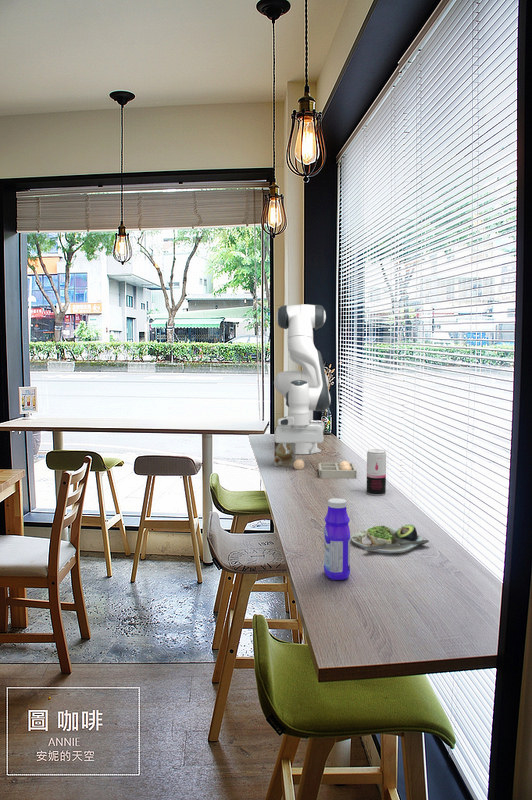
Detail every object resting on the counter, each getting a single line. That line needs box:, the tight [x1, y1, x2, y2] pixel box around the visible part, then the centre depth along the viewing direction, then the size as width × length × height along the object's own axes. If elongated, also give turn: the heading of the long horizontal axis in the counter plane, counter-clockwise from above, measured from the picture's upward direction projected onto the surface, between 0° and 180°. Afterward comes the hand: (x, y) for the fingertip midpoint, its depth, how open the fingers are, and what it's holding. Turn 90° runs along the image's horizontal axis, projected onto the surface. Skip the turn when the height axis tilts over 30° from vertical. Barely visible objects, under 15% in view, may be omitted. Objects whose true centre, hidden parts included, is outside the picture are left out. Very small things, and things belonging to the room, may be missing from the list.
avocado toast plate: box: [350, 524, 430, 554], centre depth 148 cm, size 19×18×5 cm
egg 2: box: [339, 460, 350, 466], centre depth 228 cm, size 5×5×5 cm
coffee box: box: [273, 427, 297, 468], centre depth 243 cm, size 9×6×16 cm
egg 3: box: [340, 464, 352, 470], centre depth 221 cm, size 5×5×5 cm
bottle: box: [323, 497, 351, 581], centre depth 128 cm, size 7×6×17 cm
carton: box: [318, 462, 357, 480], centre depth 225 cm, size 14×14×4 cm
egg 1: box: [293, 458, 305, 471], centre depth 235 cm, size 5×5×5 cm
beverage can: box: [366, 449, 387, 496], centre depth 198 cm, size 7×7×15 cm
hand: (298, 453), depth 234 cm, fingers open, 8 cm apart
